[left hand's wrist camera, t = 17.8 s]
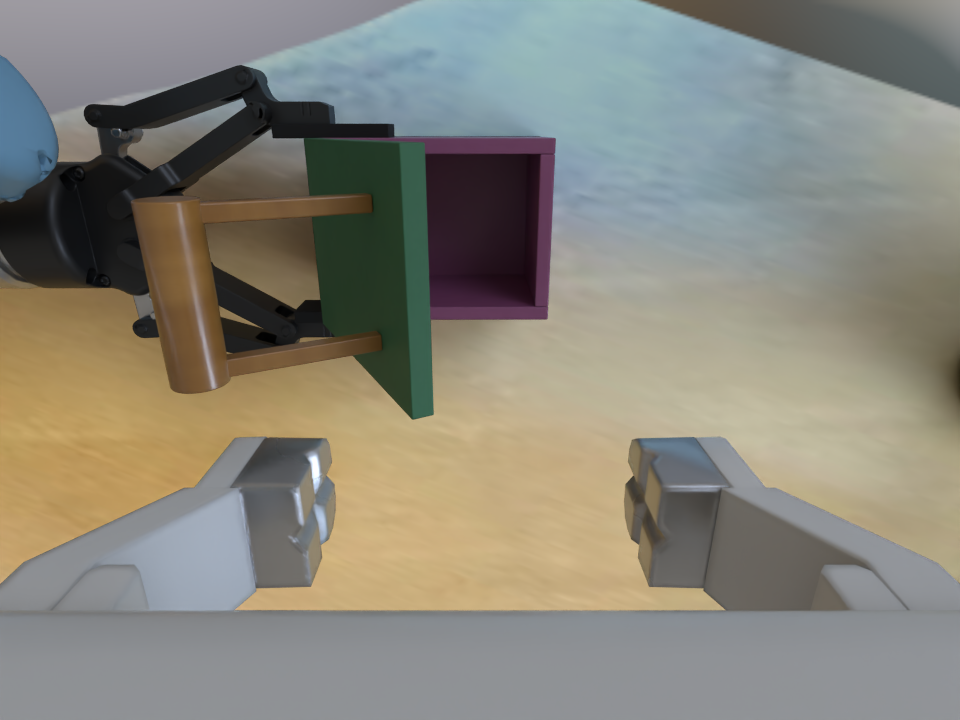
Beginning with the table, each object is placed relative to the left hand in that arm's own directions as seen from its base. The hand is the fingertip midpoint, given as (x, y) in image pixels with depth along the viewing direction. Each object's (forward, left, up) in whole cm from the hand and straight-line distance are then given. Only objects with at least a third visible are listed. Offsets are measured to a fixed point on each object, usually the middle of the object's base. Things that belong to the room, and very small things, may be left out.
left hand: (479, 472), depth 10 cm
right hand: (+5, -1, -28) cm, 28 cm away
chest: (+2, 0, -34) cm, 34 cm away
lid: (+5, -1, -18) cm, 19 cm away
